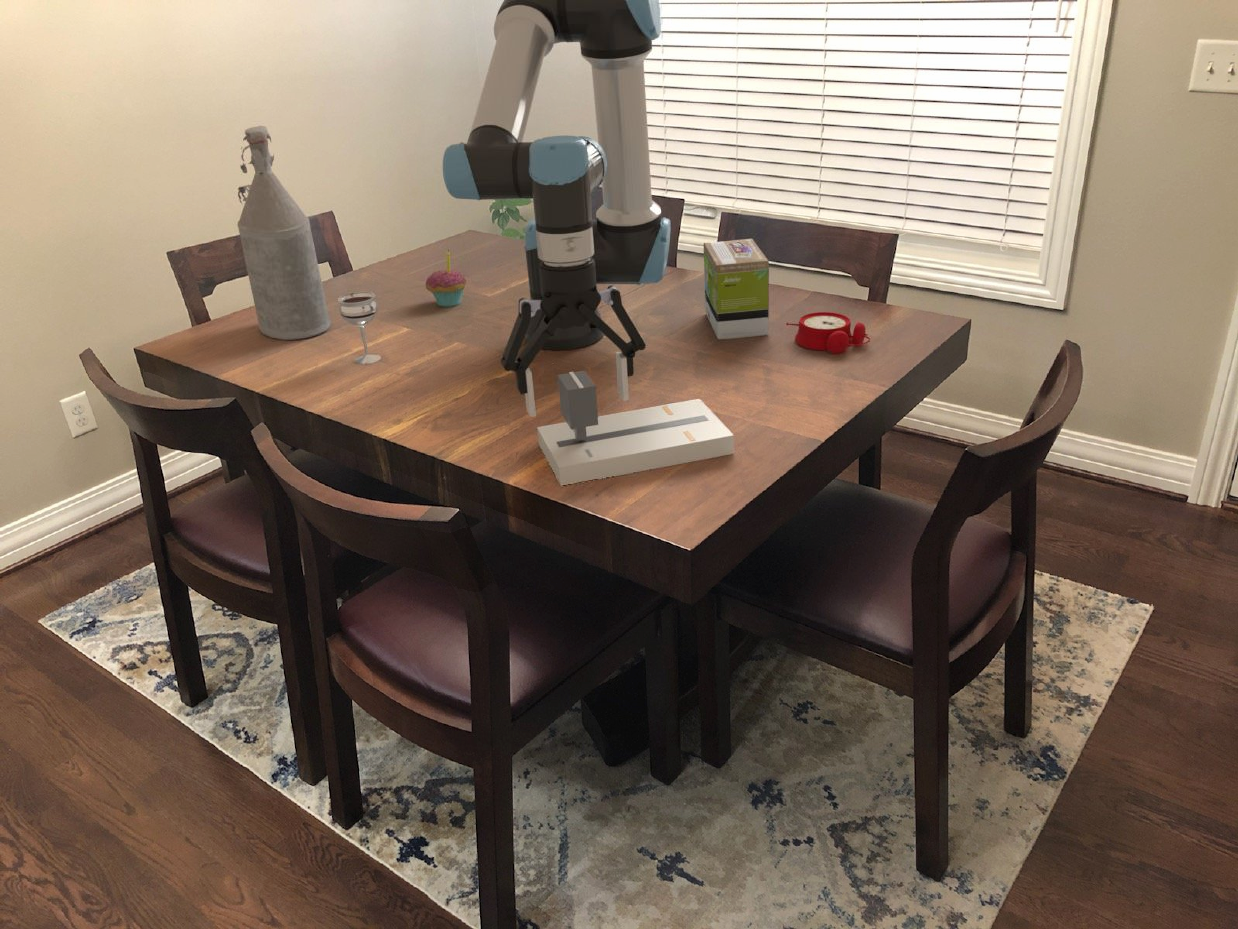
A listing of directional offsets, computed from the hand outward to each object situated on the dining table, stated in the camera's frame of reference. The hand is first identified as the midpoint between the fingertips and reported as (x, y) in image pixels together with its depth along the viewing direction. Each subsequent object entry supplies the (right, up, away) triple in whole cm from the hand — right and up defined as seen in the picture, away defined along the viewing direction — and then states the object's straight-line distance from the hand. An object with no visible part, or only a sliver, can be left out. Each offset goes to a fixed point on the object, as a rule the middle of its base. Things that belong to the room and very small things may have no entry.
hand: (577, 405), depth 145 cm
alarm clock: (+44, +13, +40) cm, 61 cm away
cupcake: (-30, +26, +72) cm, 82 cm away
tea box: (+28, +18, +51) cm, 61 cm away
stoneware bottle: (-60, +19, +63) cm, 89 cm away
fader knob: (0, -5, +3) cm, 5 cm away
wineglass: (-41, +11, +45) cm, 62 cm away
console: (+8, -6, +6) cm, 12 cm away
